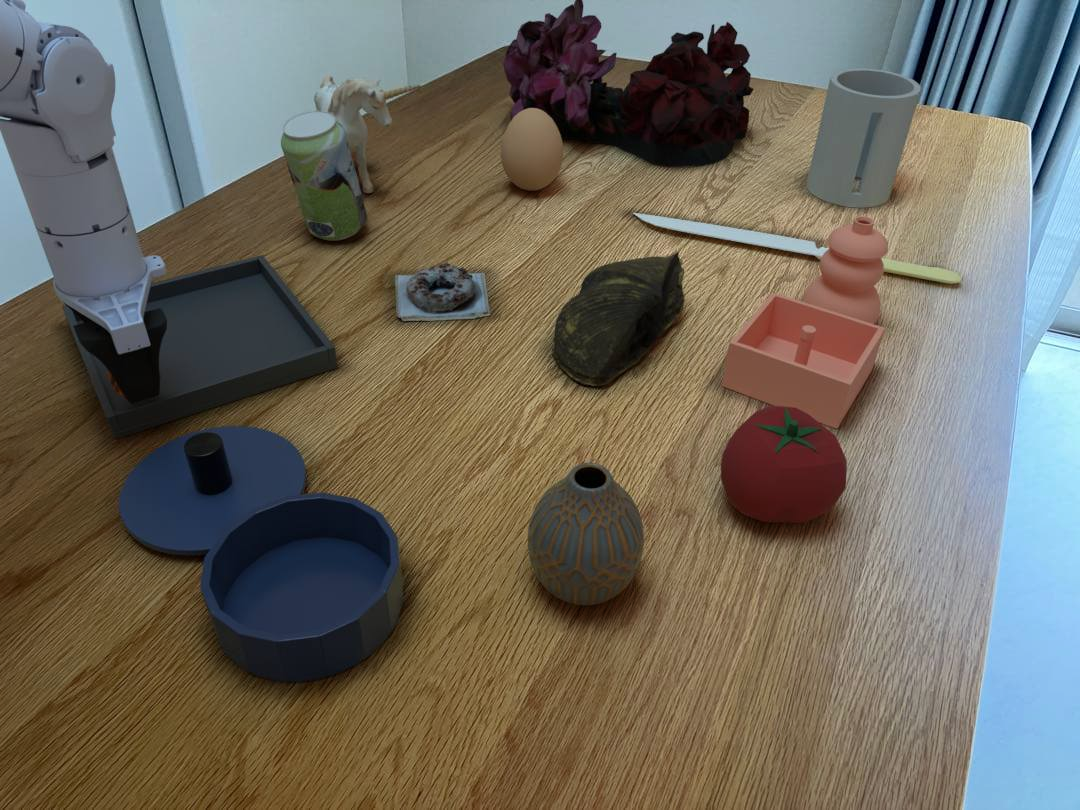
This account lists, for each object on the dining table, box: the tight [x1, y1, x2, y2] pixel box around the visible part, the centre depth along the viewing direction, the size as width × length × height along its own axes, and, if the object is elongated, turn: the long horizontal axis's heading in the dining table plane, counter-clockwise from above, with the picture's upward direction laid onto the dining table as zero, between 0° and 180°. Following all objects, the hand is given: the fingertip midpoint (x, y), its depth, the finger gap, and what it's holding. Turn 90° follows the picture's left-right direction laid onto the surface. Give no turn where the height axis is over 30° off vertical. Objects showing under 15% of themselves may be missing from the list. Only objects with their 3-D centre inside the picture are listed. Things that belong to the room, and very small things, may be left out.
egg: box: [500, 108, 564, 192], centre depth 96 cm, size 7×7×9 cm
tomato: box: [720, 405, 848, 524], centre depth 59 cm, size 8×8×7 cm
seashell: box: [551, 251, 685, 387], centre depth 75 cm, size 16×9×7 cm, turn 149°
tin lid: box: [118, 425, 307, 556], centre depth 59 cm, size 12×12×5 cm
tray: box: [61, 254, 338, 440], centre depth 73 cm, size 17×17×2 cm
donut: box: [394, 261, 491, 322], centre depth 80 cm, size 8×8×2 cm
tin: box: [199, 492, 405, 683], centre depth 52 cm, size 11×11×4 cm
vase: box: [527, 462, 645, 606], centre depth 52 cm, size 7×7×9 cm
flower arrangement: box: [502, 0, 755, 168], centre depth 107 cm, size 31×20×15 cm, turn 76°
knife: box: [632, 212, 963, 285], centre depth 89 cm, size 1×33×5 cm
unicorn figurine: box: [313, 75, 423, 194], centre depth 94 cm, size 7×20×13 cm, turn 37°
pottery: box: [721, 215, 889, 430], centre depth 72 cm, size 18×10×10 cm, turn 147°
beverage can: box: [280, 110, 368, 242], centre depth 86 cm, size 6×7×12 cm
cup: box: [805, 67, 922, 209], centre depth 97 cm, size 9×9×12 cm
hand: (137, 382), depth 66 cm, fingers closed on meatball, 4 cm apart
